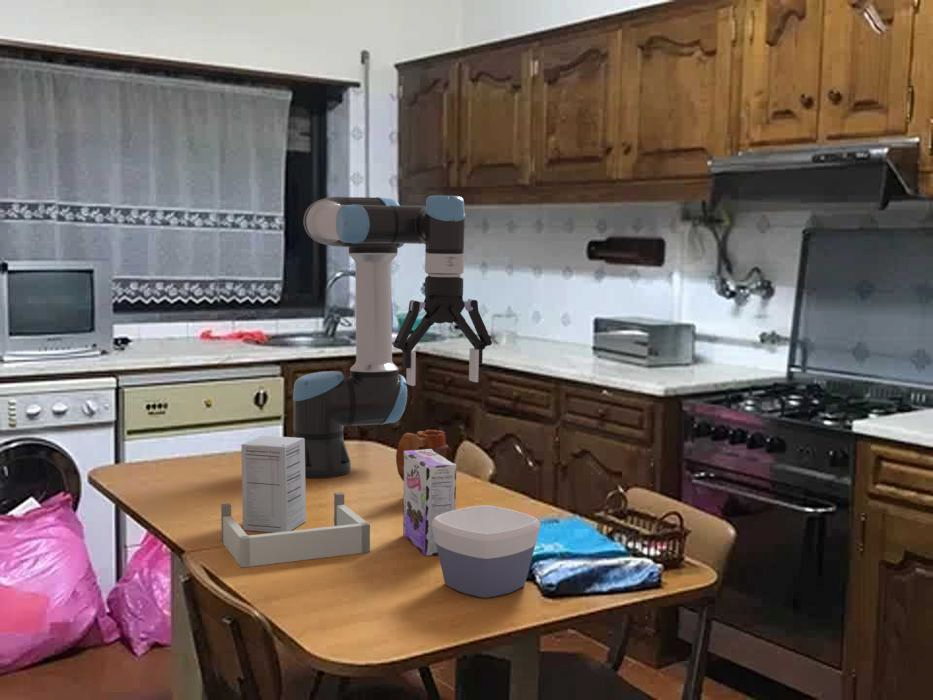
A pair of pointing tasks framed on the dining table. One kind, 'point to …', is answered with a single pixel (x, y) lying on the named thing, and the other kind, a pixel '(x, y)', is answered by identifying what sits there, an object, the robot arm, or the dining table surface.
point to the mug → (421, 445)
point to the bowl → (485, 549)
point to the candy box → (426, 495)
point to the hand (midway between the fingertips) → (442, 383)
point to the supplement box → (273, 484)
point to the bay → (297, 539)
